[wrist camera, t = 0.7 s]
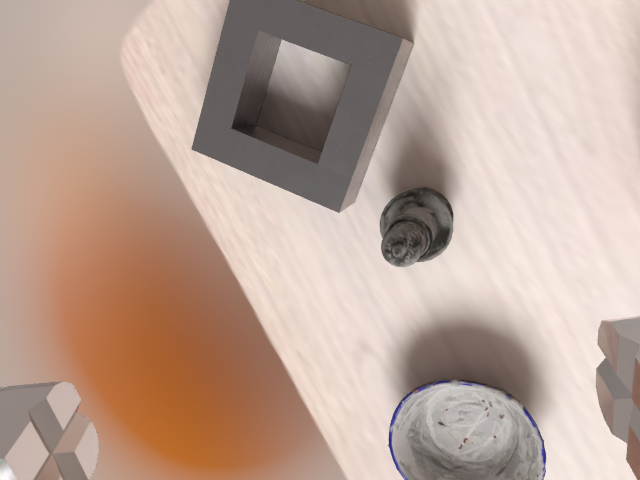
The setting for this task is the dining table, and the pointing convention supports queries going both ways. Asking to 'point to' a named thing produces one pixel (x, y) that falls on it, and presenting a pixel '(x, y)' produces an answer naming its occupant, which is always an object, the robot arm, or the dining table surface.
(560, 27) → the dining table surface
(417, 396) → the bowl
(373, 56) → the square frame
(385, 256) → the grey chess piece
